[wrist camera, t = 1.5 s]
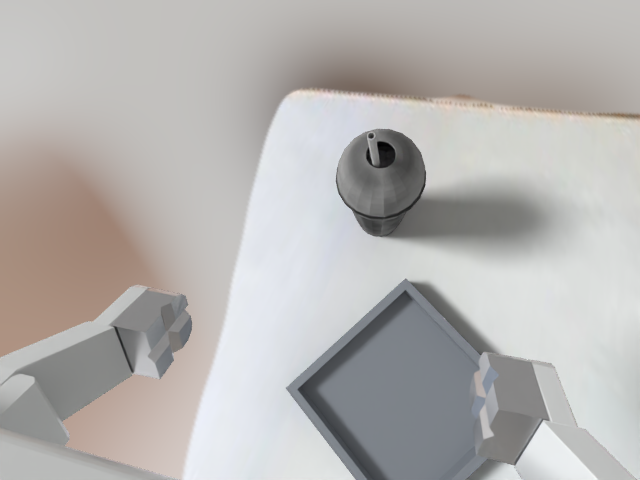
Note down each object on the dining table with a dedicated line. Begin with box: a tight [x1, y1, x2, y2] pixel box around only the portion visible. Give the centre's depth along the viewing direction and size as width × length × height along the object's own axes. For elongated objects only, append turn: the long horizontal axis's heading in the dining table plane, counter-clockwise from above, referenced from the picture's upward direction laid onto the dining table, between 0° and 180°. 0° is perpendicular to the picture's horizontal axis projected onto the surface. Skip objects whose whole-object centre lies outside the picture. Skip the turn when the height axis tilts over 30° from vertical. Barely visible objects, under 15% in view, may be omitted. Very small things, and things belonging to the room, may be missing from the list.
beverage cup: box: [336, 129, 426, 237], centre depth 31 cm, size 7×7×20 cm
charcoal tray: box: [286, 279, 488, 480], centre depth 35 cm, size 16×16×2 cm
